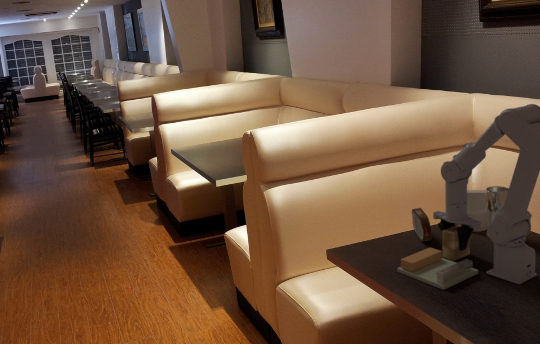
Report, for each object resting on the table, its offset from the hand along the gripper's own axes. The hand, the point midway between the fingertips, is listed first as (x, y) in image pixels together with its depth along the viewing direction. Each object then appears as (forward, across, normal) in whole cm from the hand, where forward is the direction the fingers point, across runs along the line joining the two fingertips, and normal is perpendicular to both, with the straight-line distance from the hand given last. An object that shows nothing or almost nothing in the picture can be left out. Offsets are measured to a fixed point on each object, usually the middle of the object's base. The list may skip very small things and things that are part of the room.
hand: (456, 247), depth 158 cm
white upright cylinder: (+3, +11, -23) cm, 26 cm away
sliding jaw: (+1, +1, +13) cm, 13 cm away
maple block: (+2, 0, 0) cm, 2 cm away
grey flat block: (+2, -4, +13) cm, 14 cm away
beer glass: (+3, +1, -21) cm, 21 cm away
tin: (+3, +17, -5) cm, 18 cm away
